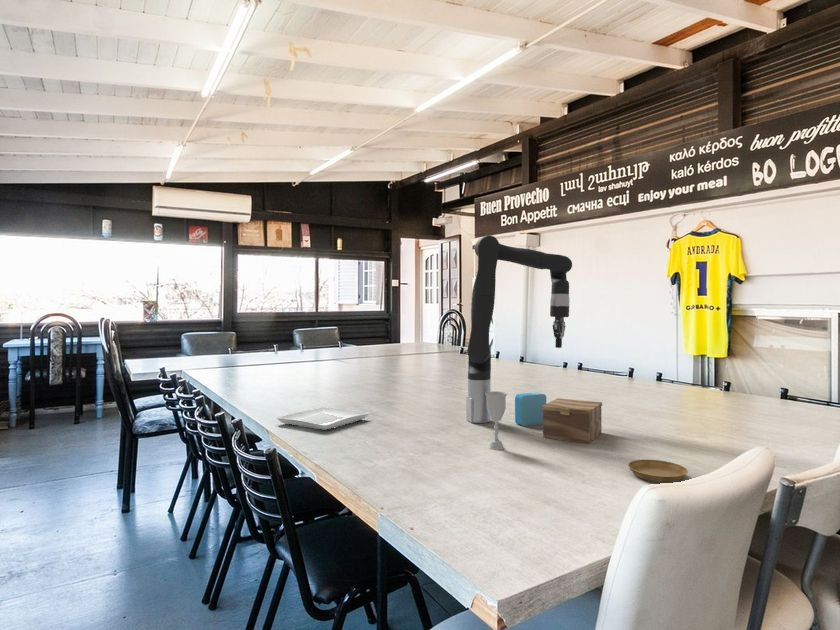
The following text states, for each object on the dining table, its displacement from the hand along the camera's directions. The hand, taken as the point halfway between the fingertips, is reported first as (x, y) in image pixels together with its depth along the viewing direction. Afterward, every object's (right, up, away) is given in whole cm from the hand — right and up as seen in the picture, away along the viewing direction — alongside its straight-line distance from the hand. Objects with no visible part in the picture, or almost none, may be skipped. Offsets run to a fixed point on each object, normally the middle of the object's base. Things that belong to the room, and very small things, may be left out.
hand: (558, 347), depth 206 cm
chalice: (-31, -31, -40) cm, 59 cm away
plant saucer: (+8, -31, -69) cm, 76 cm away
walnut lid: (-2, -21, -24) cm, 32 cm away
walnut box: (-1, -30, -24) cm, 38 cm away
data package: (-13, -30, -6) cm, 33 cm away
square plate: (-96, -31, -1) cm, 101 cm away
